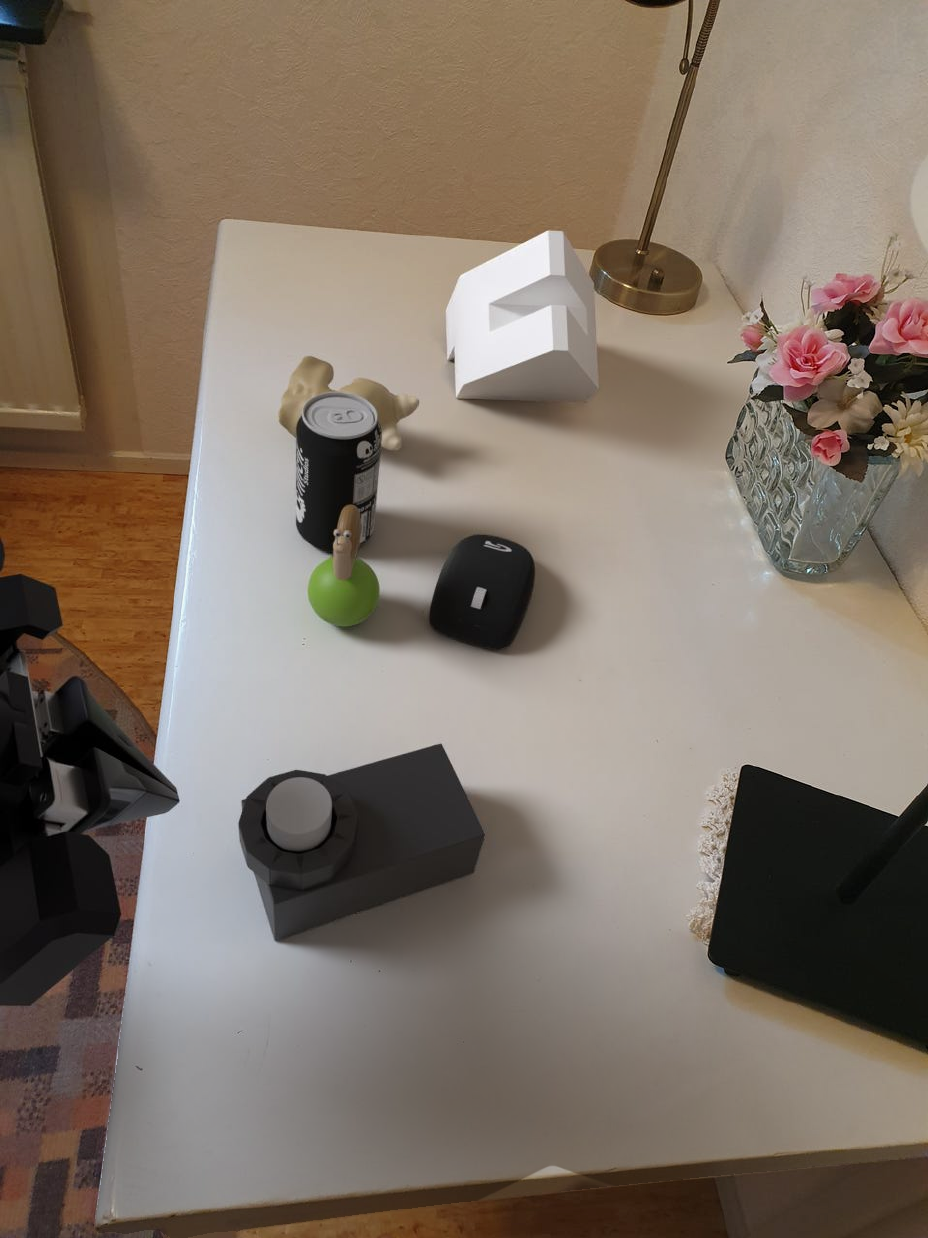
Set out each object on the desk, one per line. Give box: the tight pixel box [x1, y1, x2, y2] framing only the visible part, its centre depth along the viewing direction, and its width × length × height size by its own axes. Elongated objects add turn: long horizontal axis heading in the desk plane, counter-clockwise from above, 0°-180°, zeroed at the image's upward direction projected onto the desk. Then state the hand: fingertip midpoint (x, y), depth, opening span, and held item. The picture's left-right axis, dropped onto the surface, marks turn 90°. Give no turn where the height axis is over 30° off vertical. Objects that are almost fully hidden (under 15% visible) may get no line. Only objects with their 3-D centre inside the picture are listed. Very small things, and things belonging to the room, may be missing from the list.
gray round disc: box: [266, 777, 332, 852], centre depth 52 cm, size 4×4×2 cm
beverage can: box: [295, 392, 382, 553], centre depth 75 cm, size 7×7×12 cm
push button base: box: [237, 743, 486, 942], centre depth 56 cm, size 14×7×7 cm, turn 114°
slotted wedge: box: [445, 229, 600, 404], centre depth 92 cm, size 14×11×18 cm
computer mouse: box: [428, 533, 536, 650], centre depth 75 cm, size 8×12×4 cm, turn 164°
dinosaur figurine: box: [278, 355, 420, 451], centre depth 85 cm, size 8×7×12 cm
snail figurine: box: [307, 505, 381, 627], centre depth 68 cm, size 5×6×12 cm
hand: (172, 801), depth 46 cm, fingers closed
